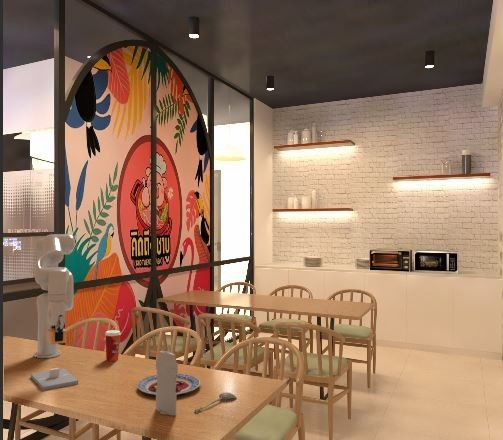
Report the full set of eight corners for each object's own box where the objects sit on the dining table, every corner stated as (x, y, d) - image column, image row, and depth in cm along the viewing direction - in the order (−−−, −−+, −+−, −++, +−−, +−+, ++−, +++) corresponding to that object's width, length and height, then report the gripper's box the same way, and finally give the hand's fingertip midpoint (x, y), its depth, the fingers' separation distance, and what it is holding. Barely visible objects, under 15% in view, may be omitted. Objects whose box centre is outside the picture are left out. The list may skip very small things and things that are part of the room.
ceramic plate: (188, 402, 179) (188, 394, 179) (126, 396, 184) (126, 389, 184) (207, 380, 204) (207, 374, 204) (152, 376, 209) (152, 369, 209)
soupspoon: (240, 400, 184) (227, 397, 188) (240, 391, 185) (227, 388, 189) (202, 416, 167) (189, 412, 171) (202, 406, 167) (189, 402, 171)
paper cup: (117, 362, 229) (118, 333, 229) (102, 361, 229) (102, 333, 229) (122, 357, 236) (122, 329, 237) (107, 357, 237) (107, 329, 237)
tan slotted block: (46, 341, 201) (46, 328, 201) (61, 339, 205) (62, 327, 206) (50, 344, 196) (50, 331, 196) (66, 342, 200) (66, 329, 200)
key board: (30, 377, 204) (31, 365, 204) (64, 371, 212) (64, 360, 212) (42, 390, 188) (43, 378, 188) (78, 383, 197) (78, 372, 197)
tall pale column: (180, 414, 167) (181, 352, 168) (172, 417, 164) (173, 355, 164) (159, 407, 173) (160, 347, 174) (151, 410, 170) (152, 350, 170)
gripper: (42, 296, 205) (41, 336, 205) (54, 301, 192) (53, 344, 192) (60, 294, 210) (59, 334, 210) (72, 299, 197) (71, 342, 196)
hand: (56, 339), depth 201 cm, fingers closed on tan slotted block, 6 cm apart
